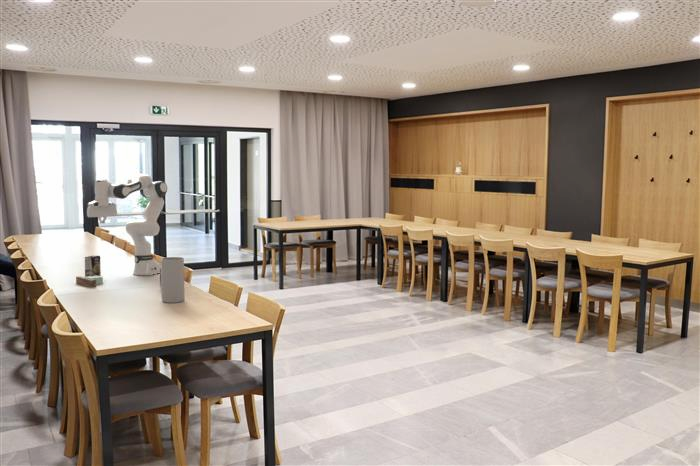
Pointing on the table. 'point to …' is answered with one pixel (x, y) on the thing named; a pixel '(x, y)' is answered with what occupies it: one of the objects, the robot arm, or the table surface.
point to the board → (86, 281)
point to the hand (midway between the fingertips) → (102, 223)
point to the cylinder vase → (172, 279)
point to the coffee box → (92, 266)
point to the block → (97, 279)
